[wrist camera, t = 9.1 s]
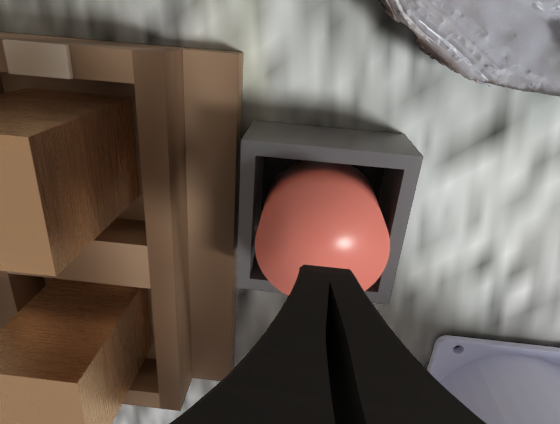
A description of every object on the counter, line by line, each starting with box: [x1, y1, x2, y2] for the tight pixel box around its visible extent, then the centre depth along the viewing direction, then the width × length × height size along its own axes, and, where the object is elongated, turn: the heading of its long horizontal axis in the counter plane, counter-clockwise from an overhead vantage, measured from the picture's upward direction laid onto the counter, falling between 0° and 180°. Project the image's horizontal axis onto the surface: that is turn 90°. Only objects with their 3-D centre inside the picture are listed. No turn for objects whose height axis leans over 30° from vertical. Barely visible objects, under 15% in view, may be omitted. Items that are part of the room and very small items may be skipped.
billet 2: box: [0, 278, 152, 424], centre depth 17 cm, size 4×4×6 cm
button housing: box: [236, 120, 423, 304], centre depth 16 cm, size 6×6×3 cm
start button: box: [255, 160, 390, 296], centre depth 14 cm, size 4×4×3 cm
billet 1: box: [0, 88, 140, 276], centre depth 13 cm, size 4×4×6 cm
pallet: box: [0, 32, 243, 411], centre depth 17 cm, size 12×16×3 cm
